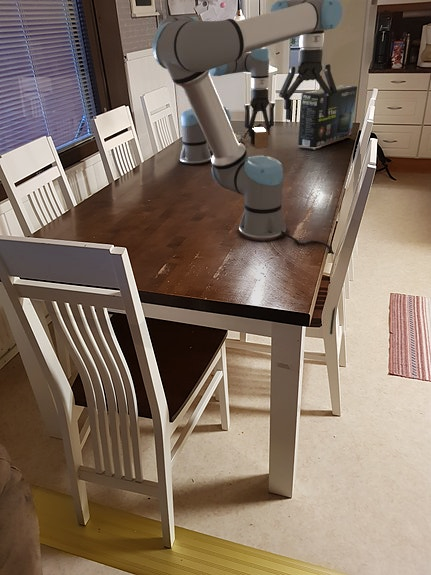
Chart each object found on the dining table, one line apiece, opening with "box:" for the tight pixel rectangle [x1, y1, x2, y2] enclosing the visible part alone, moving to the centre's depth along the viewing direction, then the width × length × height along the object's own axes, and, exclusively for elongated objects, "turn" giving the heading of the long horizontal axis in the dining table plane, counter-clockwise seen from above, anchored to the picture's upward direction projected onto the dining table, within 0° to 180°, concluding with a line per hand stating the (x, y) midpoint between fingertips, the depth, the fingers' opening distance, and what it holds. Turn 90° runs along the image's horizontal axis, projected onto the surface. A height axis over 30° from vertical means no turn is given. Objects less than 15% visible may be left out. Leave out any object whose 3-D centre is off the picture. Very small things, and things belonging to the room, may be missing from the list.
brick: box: [250, 126, 269, 150], centre depth 207 cm, size 8×6×7 cm, turn 14°
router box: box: [297, 84, 358, 151], centre depth 238 cm, size 36×11×27 cm, turn 134°
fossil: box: [232, 129, 246, 143], centre depth 251 cm, size 18×11×15 cm
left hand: (259, 143), depth 209 cm, fingers closed on brick, 6 cm apart
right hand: (306, 117), depth 159 cm, fingers open, 13 cm apart
